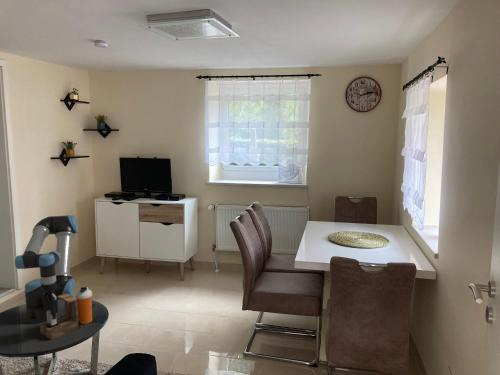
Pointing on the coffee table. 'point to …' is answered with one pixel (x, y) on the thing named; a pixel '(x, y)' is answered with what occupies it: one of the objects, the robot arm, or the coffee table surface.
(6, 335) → the coffee table surface
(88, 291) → the shaker bottle
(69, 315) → the socket block
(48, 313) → the peg
